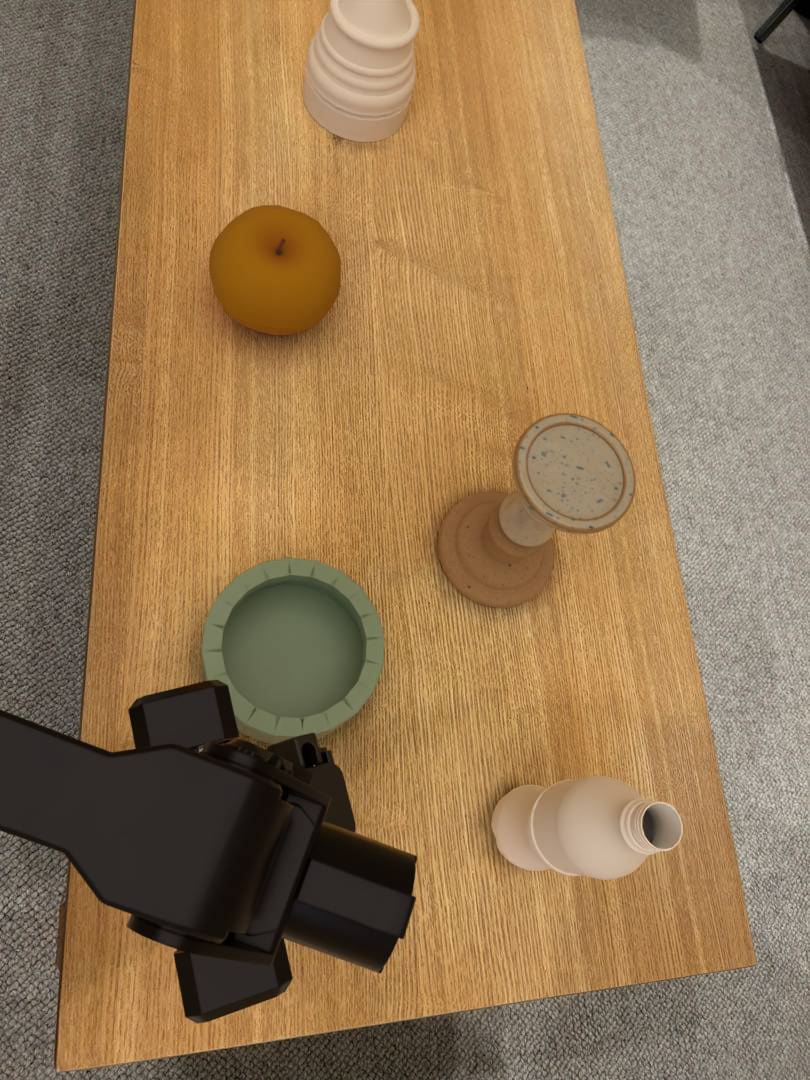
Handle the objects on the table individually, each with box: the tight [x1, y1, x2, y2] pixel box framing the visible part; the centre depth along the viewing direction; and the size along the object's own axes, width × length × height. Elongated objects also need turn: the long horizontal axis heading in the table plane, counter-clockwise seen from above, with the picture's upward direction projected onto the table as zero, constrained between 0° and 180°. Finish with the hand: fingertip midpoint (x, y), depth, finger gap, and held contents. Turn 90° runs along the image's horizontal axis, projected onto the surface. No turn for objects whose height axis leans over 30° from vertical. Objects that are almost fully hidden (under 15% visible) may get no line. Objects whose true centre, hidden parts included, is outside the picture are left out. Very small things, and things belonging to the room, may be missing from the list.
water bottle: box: [490, 774, 684, 881], centre depth 63 cm, size 7×7×25 cm
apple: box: [208, 204, 342, 336], centre depth 81 cm, size 13×13×11 cm
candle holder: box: [437, 412, 637, 609], centre depth 73 cm, size 12×12×20 cm
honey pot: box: [301, 0, 421, 143], centre depth 90 cm, size 13×13×18 cm
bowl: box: [200, 557, 385, 745], centre depth 71 cm, size 15×15×7 cm
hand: (208, 838), depth 57 cm, fingers open, 9 cm apart
